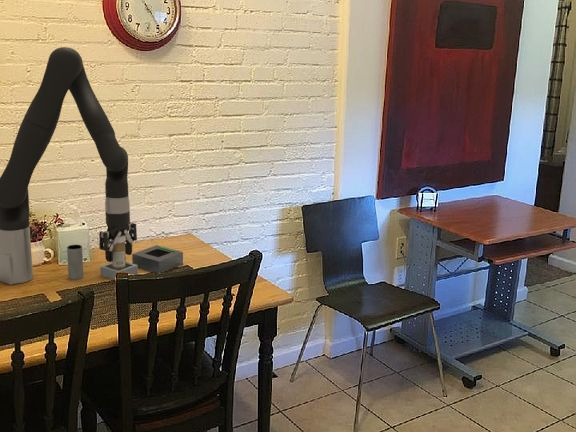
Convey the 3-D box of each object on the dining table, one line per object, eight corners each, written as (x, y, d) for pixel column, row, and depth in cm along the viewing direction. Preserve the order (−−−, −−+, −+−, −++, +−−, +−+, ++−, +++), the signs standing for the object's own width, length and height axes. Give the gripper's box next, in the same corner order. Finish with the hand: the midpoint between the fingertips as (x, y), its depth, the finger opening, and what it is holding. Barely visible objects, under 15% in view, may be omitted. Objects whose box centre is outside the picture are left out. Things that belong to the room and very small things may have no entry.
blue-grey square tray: (119, 281, 204) (118, 272, 204) (100, 275, 208) (100, 266, 208) (137, 273, 211) (137, 265, 210) (119, 268, 215) (119, 259, 215)
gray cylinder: (79, 273, 209) (77, 243, 206) (86, 277, 206) (84, 247, 203) (66, 276, 206) (64, 246, 203) (72, 280, 203) (71, 250, 200)
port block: (159, 274, 212) (158, 260, 210) (132, 266, 217) (132, 253, 216) (182, 264, 222) (183, 251, 220) (156, 257, 227) (156, 244, 226)
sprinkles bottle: (127, 272, 212) (126, 233, 208) (124, 277, 208) (123, 237, 204) (113, 271, 212) (112, 233, 208) (110, 276, 208) (109, 237, 204)
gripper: (125, 203, 212) (126, 250, 216) (91, 212, 200) (94, 261, 204) (142, 207, 208) (143, 254, 212) (109, 216, 196) (111, 266, 201)
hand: (119, 257), depth 208 cm, fingers open, 8 cm apart
